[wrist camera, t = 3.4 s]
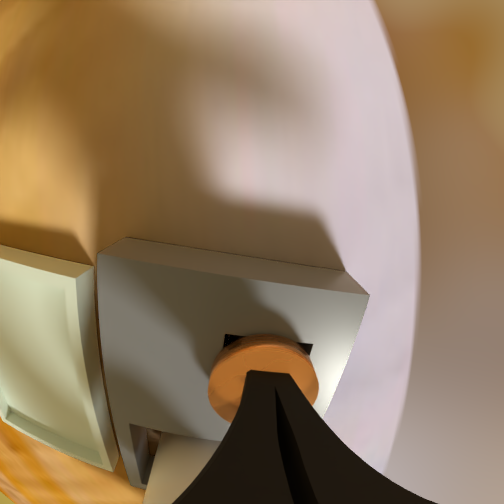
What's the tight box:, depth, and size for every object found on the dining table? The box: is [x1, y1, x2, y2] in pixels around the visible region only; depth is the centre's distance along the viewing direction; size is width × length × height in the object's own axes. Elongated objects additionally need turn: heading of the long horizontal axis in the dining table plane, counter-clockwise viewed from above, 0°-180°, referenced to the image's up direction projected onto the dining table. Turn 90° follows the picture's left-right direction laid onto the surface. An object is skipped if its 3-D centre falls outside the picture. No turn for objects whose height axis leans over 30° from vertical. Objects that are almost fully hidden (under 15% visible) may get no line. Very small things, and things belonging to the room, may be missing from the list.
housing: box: [97, 237, 370, 490], centre depth 12 cm, size 15×9×2 cm, turn 170°
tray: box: [0, 245, 119, 472], centre depth 12 cm, size 14×10×2 cm
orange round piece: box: [208, 334, 319, 423], centre depth 10 cm, size 4×4×4 cm
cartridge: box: [143, 431, 221, 504], centre depth 10 cm, size 5×5×8 cm
